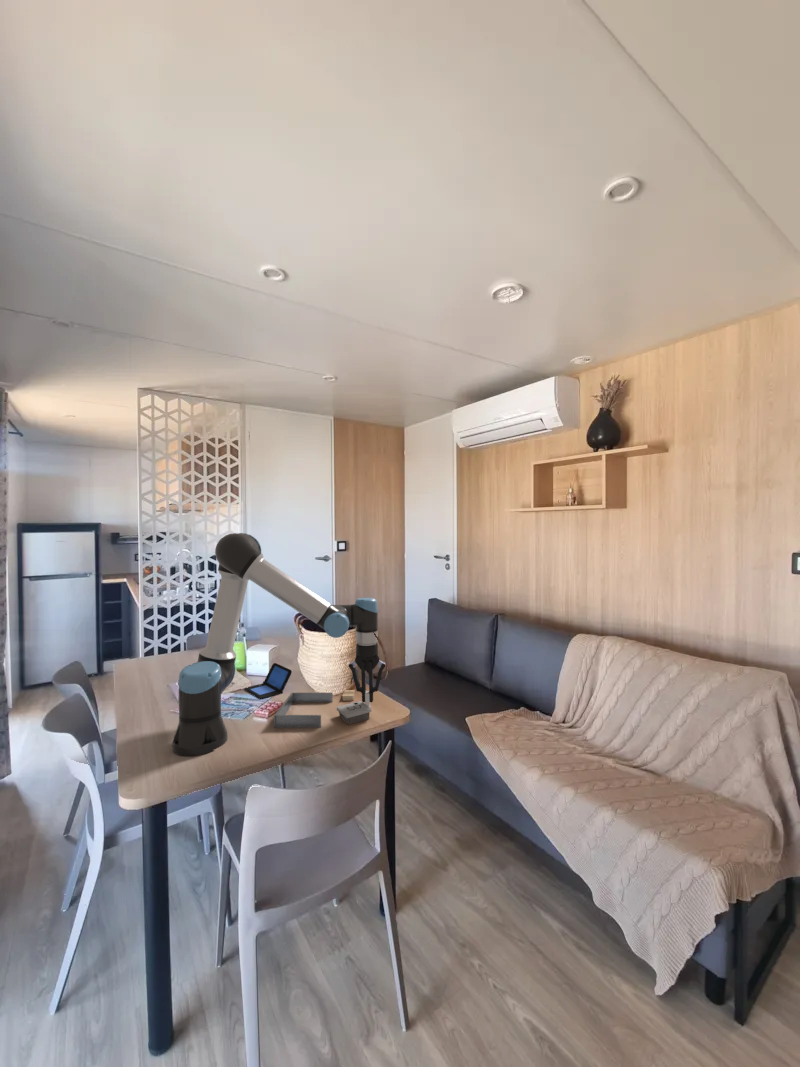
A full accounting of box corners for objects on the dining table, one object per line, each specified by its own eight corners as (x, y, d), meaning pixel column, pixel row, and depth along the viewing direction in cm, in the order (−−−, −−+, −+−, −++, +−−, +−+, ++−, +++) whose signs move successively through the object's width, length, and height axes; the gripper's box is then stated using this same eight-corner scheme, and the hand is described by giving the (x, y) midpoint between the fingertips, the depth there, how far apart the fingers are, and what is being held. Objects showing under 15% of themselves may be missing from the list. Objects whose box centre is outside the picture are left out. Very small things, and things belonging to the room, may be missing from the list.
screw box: (353, 703, 167) (353, 695, 167) (342, 704, 167) (342, 695, 167) (354, 697, 173) (354, 690, 173) (344, 698, 173) (344, 690, 173)
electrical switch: (360, 700, 159) (371, 703, 151) (362, 715, 158) (373, 719, 150) (335, 706, 154) (345, 710, 146) (337, 722, 154) (347, 726, 146)
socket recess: (320, 728, 146) (320, 715, 146) (273, 728, 146) (273, 715, 146) (332, 703, 167) (332, 692, 167) (291, 703, 168) (291, 692, 168)
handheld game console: (243, 691, 182) (243, 668, 182) (274, 684, 191) (274, 662, 191) (261, 702, 170) (261, 677, 170) (292, 693, 179) (292, 669, 179)
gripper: (386, 640, 160) (387, 707, 160) (349, 640, 160) (350, 707, 160) (385, 645, 152) (385, 715, 152) (346, 645, 153) (347, 715, 152)
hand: (367, 711), depth 156 cm, fingers closed
